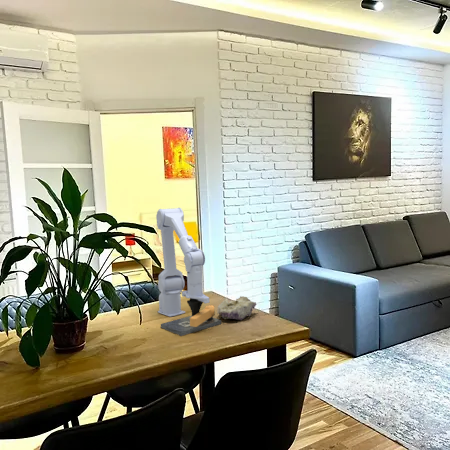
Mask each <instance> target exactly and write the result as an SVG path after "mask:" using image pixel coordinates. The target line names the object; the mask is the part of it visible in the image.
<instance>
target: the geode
mask: <svg viewBox="0 0 450 450" xmlns="http://www.w3.org/2000/svg"><path fill="white" fill-rule="evenodd" d="M257 305H258V304H257V302H256V301H252V300H251V299H249V297H247V296H242V295H241V296H239V297H238V298H236V299H235V300H232V299H231V300H230V301H229V299H228V298H226V299H224V300H223V301H222V302H221V303H219V305H218V306H217V310H216V311H217V315H219V316H221V318H222V319H224V320H227V319H231V320H238V321H240V322H241V321H243V320H244V319H246V318H248V317H250V316H251V314H253V310H254V309H256V306H257Z"/></svg>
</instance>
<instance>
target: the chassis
mask: <svg viewBox="0 0 450 450" xmlns="http://www.w3.org/2000/svg"><path fill="white" fill-rule="evenodd" d="M191 317H192V315H188V316H185V317H181V318H179V319H173V320H170V321H166V322H162V323H160V328H161V329H163V330H165V331H167V332H171V334H172V333H173V334H175V335H177V336H180V337H182V336H187V335H189V334H192V333H195V332H199V331H203V330H206V329H210V328H213V327H216V326H219V325H221V324H222V320H221V319H218V318H215V317H214V316H212V317H210V318H209V319H207V320H206V321H204V322H203V323H201V324H200V325H199V326H197V327H193V326H190V318H191Z"/></svg>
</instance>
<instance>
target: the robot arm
mask: <svg viewBox="0 0 450 450" xmlns="http://www.w3.org/2000/svg"><path fill="white" fill-rule="evenodd" d="M155 216H156V217H155V218H156V226H157V229H158V230H160V234H161V243H162V244H161V246H162V255H163V257H162V258H163V266H164V267H163V268H164V269H163V270H162V271H161V272H160V273H159V274H158V284H157V286H158V290H159V295H158V305H159V306H158V307H159V308H158V309H159V310H158V311H157V313H159V314H161V315H165V316H167V317H169V318H171V317H175V316H179V315H182V314H185V313H186V311H185V310H182V301H181V296H182V297H183V298H184V297H185V298H186V299H188V300H187V301H186V302H187V305H188V306H189V309H190V311H191V316H194V315H196V314H197V313H199V312H200V311H201V308H202V305H203V304H209V303H210V297H209V296H207V295H206V294H204V287H203V286H204V284H203V282H204V281H203V266H204V265H205V263H206V257H205V256H206V255H205V253H204V251H203V250H202V249H200V248H198V246H197V244H196V241H194V239H193V237H192V235H188V231H187V228H186V227H185V223H184V221H185V220H184V219H185V215H184V211H183V208H181V207H176V208H159V209H158V210H157V211H156V215H155ZM174 232H175V234H176V236H177V238H178V239H179V240H178V245H179V247H180V249H181V252H182V253H183V263H184V265H185V266H184V267H185V272H186V280H187V283H186V284H187V290H184V288H185V279H184V276H183V275H184V274H183V272H182V271H181V270H179V269H178V268H177V263H176V262H177V259H176V250H175V239H174ZM183 290H184V291H183Z"/></svg>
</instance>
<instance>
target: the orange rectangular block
mask: <svg viewBox="0 0 450 450" xmlns="http://www.w3.org/2000/svg"><path fill="white" fill-rule="evenodd" d="M191 316H192V315H191ZM212 316H213V317H214V316H215V305H212V304H211V305H210V304H209V305H208V304H207V305H205V307H204V308H203V309H202V310H200V311H199V313H197V314H196V315H194V316H192V317H191V318H190V326H193V327H197V326H199V325H200V324H201V323H203V322H204V321H206V320H207V319H209V318H210V317H212Z"/></svg>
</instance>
